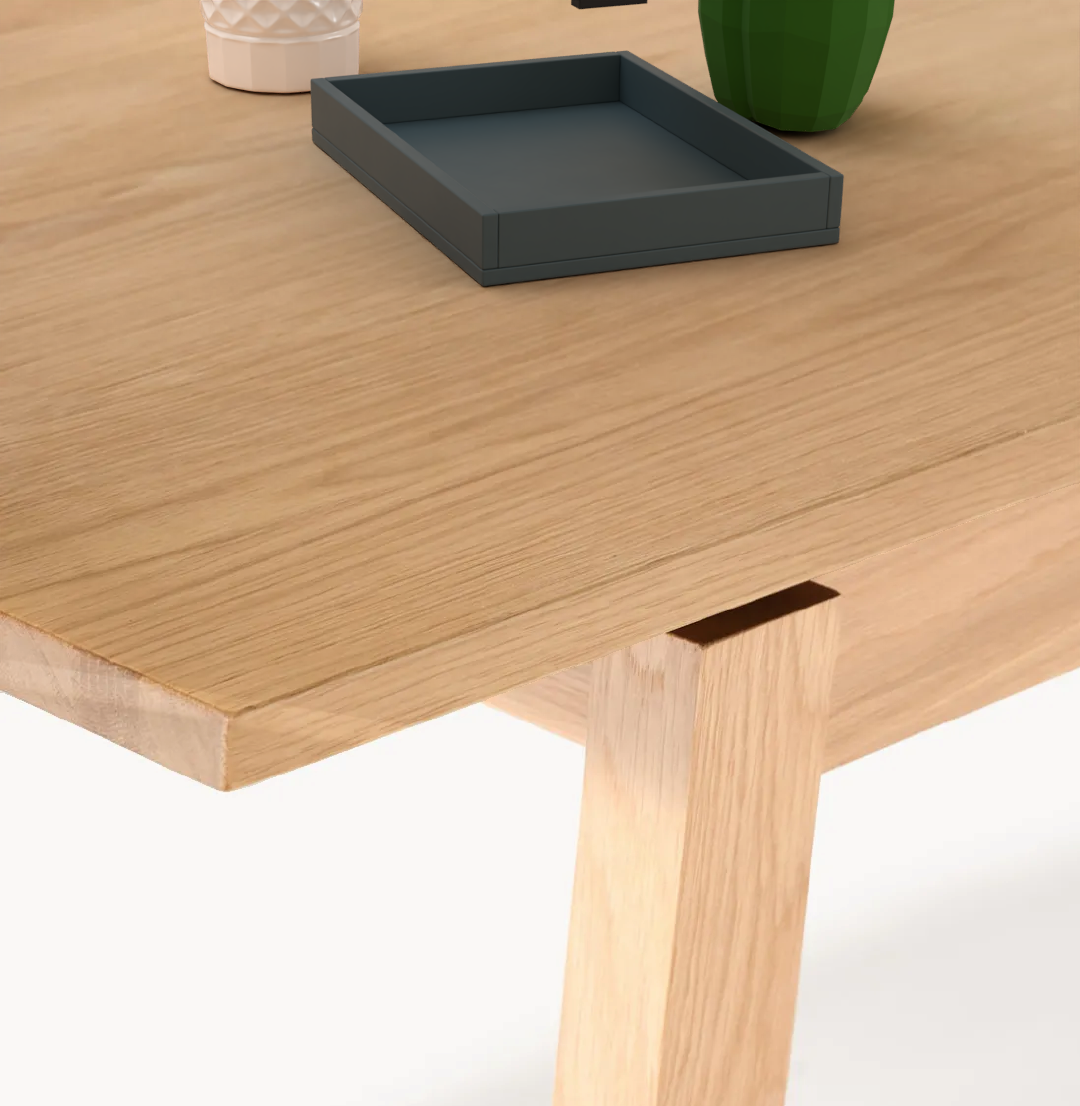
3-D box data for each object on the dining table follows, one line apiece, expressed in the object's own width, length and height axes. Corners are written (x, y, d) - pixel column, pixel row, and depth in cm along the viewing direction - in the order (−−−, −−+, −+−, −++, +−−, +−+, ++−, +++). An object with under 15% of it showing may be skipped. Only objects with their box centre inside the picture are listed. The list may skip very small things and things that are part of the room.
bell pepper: (712, 86, 113) (724, -148, 108) (896, 102, 111) (916, -136, 106) (670, 136, 106) (680, -112, 101) (866, 154, 104) (885, -98, 99)
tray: (482, 287, 89) (482, 214, 87) (311, 141, 104) (309, 78, 103) (839, 243, 94) (844, 174, 92) (625, 110, 109) (627, 49, 108)
